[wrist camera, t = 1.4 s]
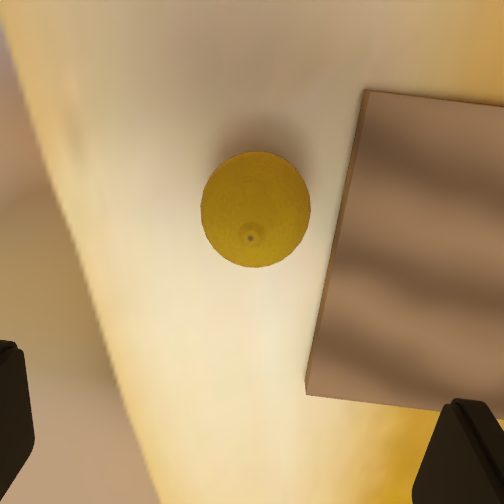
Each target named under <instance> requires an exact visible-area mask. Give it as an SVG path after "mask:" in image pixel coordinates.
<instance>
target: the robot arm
mask: <svg viewBox="0 0 504 504" xmlns="http://www.w3.org/2000/svg"><path fill="white" fill-rule="evenodd" d="M34 441H35V436H34V428H33V420H32V413H31V404H30V397H29V390H28V381H27V374H26V366H25V358H24V353H23V351H22V350H21V349H18V348H17V345H16V343H15V342H12V341H6V340H0V501H1V499H2V498H3V496H4V495H5V493H6V492H7V490H8V488H9V487H10V485H11V484H12V482H13V481H14V479H15V478H16V476H17V474H18V473H19V471H20V470H21V468H22V467H23V465H24V464H25V462H26V460H27V459H28V457H29V456H30V453H31V452H32V449H33V446H34ZM412 502H413V504H504V431H503V430H502V428H501V426H500V425H499V423H498V421H497V420H496V418H495V417H494V415H493V413H492V412H491V410H490V409H489V407H488V406H487V404H486V403H485V402H483V401H478V400H470V399H462V398H454V399H453V400H452V402H451V403H450V404H445V405H444V406H443V408H442V411H441V413H440V416H439V418H438V421H437V424H436V426H435V429H434V432H433V434H432V437H431V440H430V442H429V445H428V447H427V450H426V453H425V455H424V458H423V461H422V463H421V466H420V469H419V471H418V474H417V476H416V479H415V482H414V484H413V488H412Z"/></svg>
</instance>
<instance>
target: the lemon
mask: <svg viewBox="0 0 504 504" xmlns="http://www.w3.org/2000/svg"><path fill="white" fill-rule="evenodd" d="M310 212H311V208H310V196H309V193H308V190H307V187H306V184H305V182H304V180H303V178H302V177H301V175H300V174H299V173H298V171H297V170H296V168H294V167H293V166H292V165H291V164H290V163H288V162H287V161H286V160H285V159H283V158H280V157H278V156H276V155H274V154H271V153H266V152H261V151H256V152H245V153H242V154H239V155H236V156H233V157H232V158H230V159H228V160H227V161H225V162H224V163H222V164H221V165H220V166H219V167H218V168H217V169H216V170H215V172H214V173H213V174H212V175H211V176H210V178H209V180H208V182H207V184H206V186H205V188H204V191H203V196H202V201H201V220H202V225H203V228H204V231H205V234H206V237H207V239H208V240H209V242H210V243H211V245H212V246H213V248H214V249H215V250H216V251H217V252H218V253H219V254H220V255H221V256H223V257H224V258H225V259H227V260H229V261H231V262H232V263H234V264H237V265H241V266H244V267H254V268H258V267H264V266H270V265H272V264H274V263H277V262H279V261H281V260H283V259H284V258H285V257H287V256H288V255H290V254H291V253H292V252H293V251H294V249H295V248H296V247H297V246H298V245H299V243H300V242H301V240H302V238H303V236H304V234H305V232H306V230H307V228H308V223H309V218H310Z"/></svg>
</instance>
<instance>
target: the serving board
mask: <svg viewBox="0 0 504 504" xmlns="http://www.w3.org/2000/svg"><path fill="white" fill-rule="evenodd" d="M305 389H306V395H311V396H319V397H327V398H335V399H343V400H351V401H359V402H367V403H375V404H383V405H391V406H399V407H407V408H415V409H423V410H431V411H439V412H441V411H442V408H443V406H444V405H445V404H450V403H451V402H452V400H453V399H454V398H462V399H470V400H478V401H483V402H485V403H486V404H487V406H488V407H489V409H490V410H491V412H492V413H493V415H494V417H495V418H496V419H503V420H504V107H503V106H495V105H486V104H478V103H470V102H461V101H453V100H445V99H436V98H428V97H420V96H412V95H403V94H395V93H387V92H378V91H370V90H365V91H364V96H363V100H362V105H361V110H360V115H359V120H358V125H357V129H356V134H355V139H354V144H353V149H352V154H351V159H350V163H349V168H348V173H347V178H346V183H345V188H344V193H343V197H342V202H341V207H340V212H339V217H338V222H337V226H336V231H335V236H334V241H333V246H332V251H331V256H330V260H329V265H328V270H327V275H326V280H325V285H324V289H323V294H322V299H321V304H320V309H319V314H318V319H317V323H316V328H315V333H314V338H313V343H312V348H311V353H310V357H309V362H308V367H307V372H306V377H305Z"/></svg>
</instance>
